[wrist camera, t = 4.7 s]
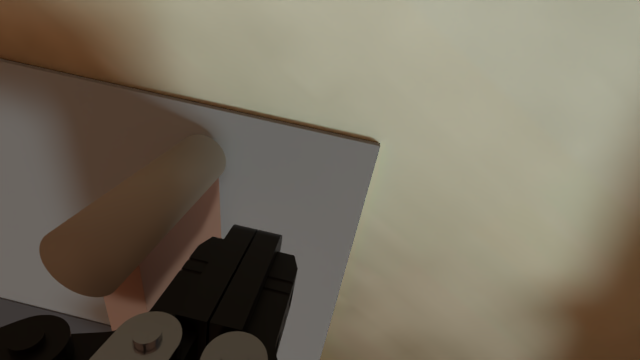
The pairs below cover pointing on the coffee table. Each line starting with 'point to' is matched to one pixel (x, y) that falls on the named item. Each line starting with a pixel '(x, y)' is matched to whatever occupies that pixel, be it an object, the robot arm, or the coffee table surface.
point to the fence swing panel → (140, 230)
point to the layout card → (142, 148)
